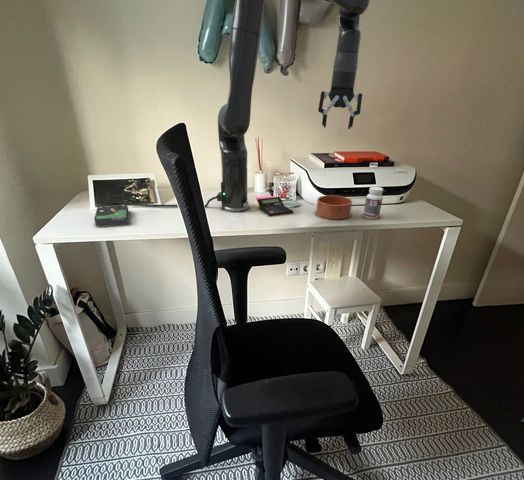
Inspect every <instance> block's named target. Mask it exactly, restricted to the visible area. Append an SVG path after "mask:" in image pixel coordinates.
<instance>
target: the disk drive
mask: <svg viewBox="0 0 524 480" xmlns="http://www.w3.org/2000/svg"><path fill="white" fill-rule="evenodd" d="M128 206H129V205H128V204H110V205H105V204H104V205H103V204H101V205H97V206H96V211H95V215H94V223H95V226H96V227H107V226H123V225H129V213H130V212H129V207H128Z"/></svg>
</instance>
